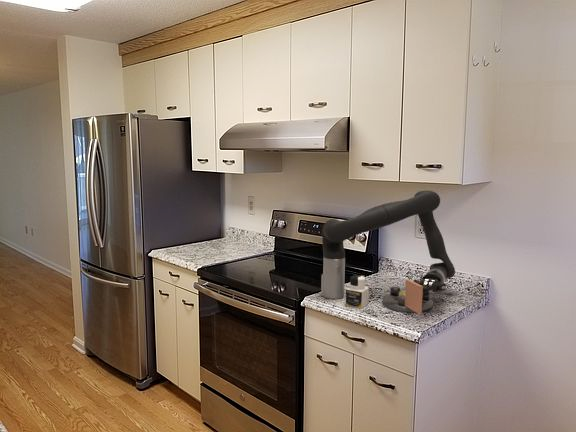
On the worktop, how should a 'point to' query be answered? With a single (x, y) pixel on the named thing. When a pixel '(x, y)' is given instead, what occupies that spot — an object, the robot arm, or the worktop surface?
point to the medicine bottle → (357, 292)
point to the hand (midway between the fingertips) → (424, 290)
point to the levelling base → (392, 303)
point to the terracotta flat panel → (412, 296)
